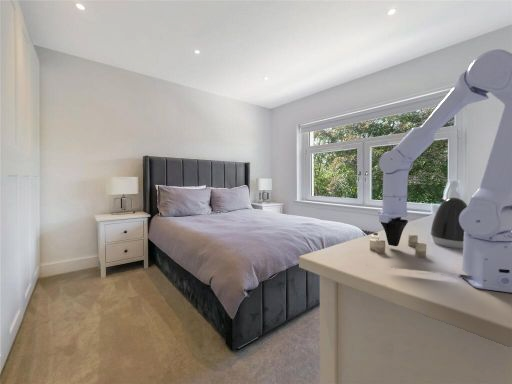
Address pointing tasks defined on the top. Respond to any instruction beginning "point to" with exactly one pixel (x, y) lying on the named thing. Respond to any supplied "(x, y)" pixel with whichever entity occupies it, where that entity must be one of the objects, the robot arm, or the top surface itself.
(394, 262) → the top surface
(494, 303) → the top surface
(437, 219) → the dark grey tapered dome
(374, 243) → the hinged leg
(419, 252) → the stool seat
